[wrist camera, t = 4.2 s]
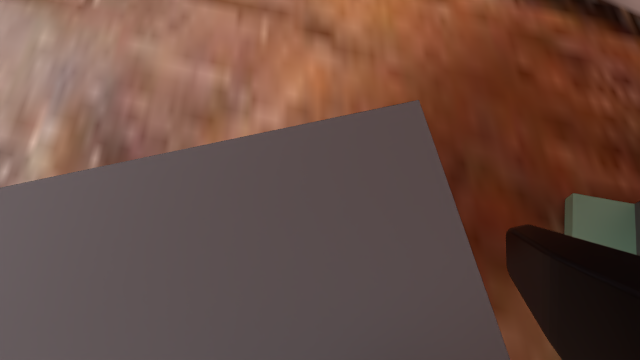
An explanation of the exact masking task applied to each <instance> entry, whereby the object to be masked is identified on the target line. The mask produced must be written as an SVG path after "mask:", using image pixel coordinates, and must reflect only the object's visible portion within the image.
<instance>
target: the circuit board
mask: <svg viewBox="0 0 640 360" xmlns="http://www.w3.org/2000/svg"><path fill="white" fill-rule="evenodd" d="M564 234H565V235H568V236H572V237H575V238H579V239H582V240H586V241H589V242H593V243H597V244H600V245H604V246H607V247H611V248H614V249H618V250H621V251H625V252H628V253H632V254H636V255H639V256H640V201H639V202H637V203H636V204H631V203H626V202H620V201H614V200H609V199H603V198H597V197H592V196H586V195H581V194H575V193H573V194H571V195H570V196H569V197H567V198H566V199H565V231H564Z"/></svg>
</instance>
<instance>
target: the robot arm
mask: <svg viewBox="0 0 640 360" xmlns="http://www.w3.org/2000/svg"><path fill="white" fill-rule="evenodd" d="M506 261H507V269H508V272H509V275H510V277H511V279H512V280H513V282H514V284H515V285H516V287H517V289H518V291H519V292H520V294H521V296H522V297H523V299H524V301H525V302H526V304H527V306H528V307H529V309H530V311H531V312H532V314H533V316H534V318H535V319H536V321H537V323H538V324H539V326H540V328H541V329H542V331H543V333H544V334H545V336H546V337H547V339H548V340H549V342H550V343H551V345H552V346H553V348H554V349H555V350H556V352H557V353H558V354H559V356H560V357H561V358H562V360H640V256H639V255H636V254H632V253H628V252H625V251H621V250H618V249H614V248H611V247H607V246H604V245H600V244H597V243H593V242H589V241H586V240H582V239H579V238H575V237H572V236H568V235H565V234H561V233H558V232H554V231H550V230H547V229H543V228H540V227H536V226H533V225H522V226H518V227H513V228H510V229H509V230H508V231H507V233H506Z"/></svg>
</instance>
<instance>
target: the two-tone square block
mask: <svg viewBox="0 0 640 360" xmlns="http://www.w3.org/2000/svg"><path fill="white" fill-rule="evenodd" d="M0 360H510V358H509V355H508V352H507V349H506V346H505V344H504V341H503V338H502V335H501V332H500V329H499V326H498V324H497V321H496V318H495V315H494V312H493V309H492V307H491V304H490V301H489V298H488V295H487V292H486V290H485V287H484V284H483V281H482V278H481V275H480V272H479V270H478V267H477V264H476V261H475V258H474V255H473V253H472V250H471V247H470V244H469V241H468V238H467V235H466V233H465V230H464V227H463V224H462V221H461V218H460V216H459V213H458V210H457V207H456V204H455V201H454V199H453V196H452V193H451V190H450V187H449V184H448V181H447V179H446V176H445V173H444V170H443V167H442V164H441V162H440V159H439V156H438V153H437V150H436V147H435V144H434V142H433V139H432V136H431V133H430V130H429V127H428V125H427V122H426V119H425V116H424V113H423V110H422V108H421V105H420V102H419V100H416V101H412V102H407V103H402V104H397V105H393V106H388V107H383V108H378V109H374V110H369V111H364V112H359V113H355V114H350V115H345V116H340V117H335V118H331V119H326V120H321V121H316V122H312V123H307V124H302V125H297V126H293V127H288V128H283V129H278V130H273V131H269V132H264V133H259V134H254V135H250V136H245V137H240V138H235V139H231V140H226V141H221V142H216V143H211V144H207V145H202V146H197V147H192V148H188V149H183V150H178V151H173V152H169V153H164V154H159V155H154V156H149V157H145V158H140V159H135V160H130V161H126V162H121V163H116V164H111V165H107V166H102V167H97V168H92V169H87V170H83V171H78V172H73V173H68V174H64V175H59V176H54V177H49V178H45V179H40V180H35V181H30V182H25V183H21V184H16V185H11V186H6V187H2V188H0Z"/></svg>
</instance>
